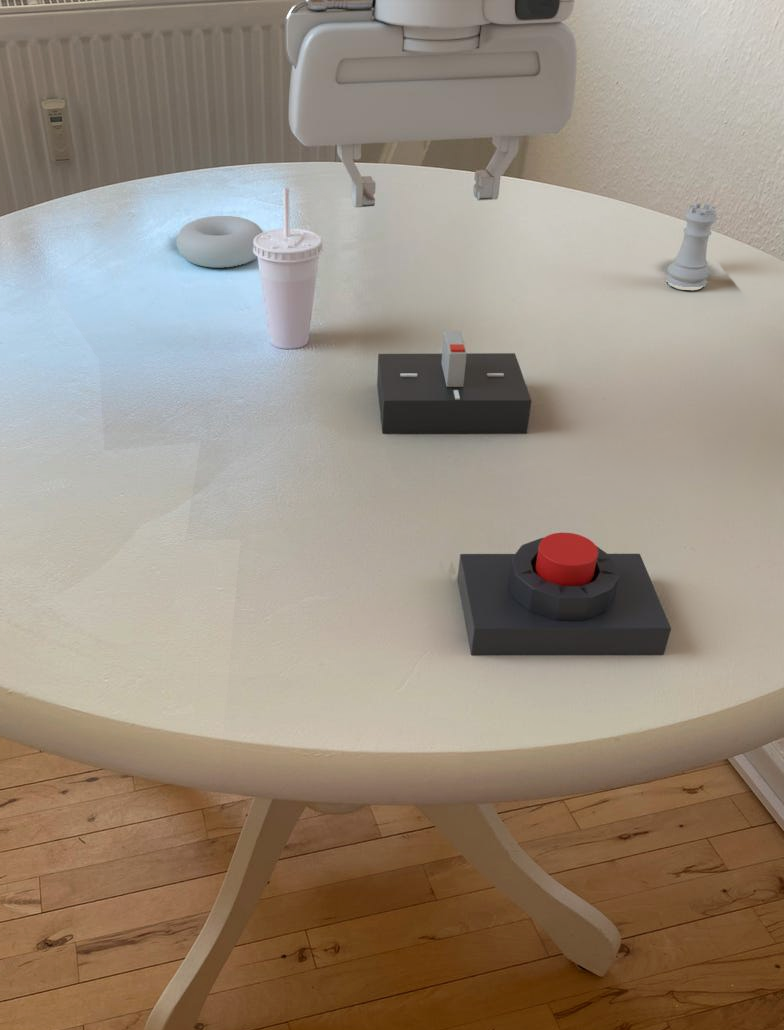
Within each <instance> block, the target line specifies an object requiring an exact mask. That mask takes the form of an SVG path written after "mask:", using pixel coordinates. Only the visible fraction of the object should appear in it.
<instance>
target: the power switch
mask: <svg viewBox="0 0 784 1030" xmlns="http://www.w3.org/2000/svg"><path fill="white" fill-rule="evenodd" d="M543 538H544V537H541V538H538V539H535V540H532V541H529V542H526V543H524V544H522V545H521V546H519V548H518V550H517V551H516V552H515V553H460V554H459V559H458V570H457V580H456V581H457V586H458V593H459V596H460V602H461V607H462V614H463V618H464V619H463V620H464V624H465V630H466V636H467V640H468V644H469V645H468V646H469V651H470V655H471V656H664V655H665V653H666V649H667V646H668V642H669V638H670V634H671V631H672V627H671V625H670V622H669V620H668V617H667V615H666V613H665V610H664V608H663V605H662V603H661V601H660V599H659V595H658V594H657V592H656V589H655V586H654V584H653V582H652V579H651V577H650V574H649V572H648V569H647V568H646V565H645V562H644V561H643V560H644V559H643V558H642V556H641V553H607V552H605V551H604V550H603V549H602V548H600V547H599V546H597V545H596V547H597V549H598V557H597V561H596V566H595V571H594V576H593V578H592V580H591V581H590V582H589V583H588V584H585V585H583V586H560V585H557V584H554V583H551V582H548V581H545V580H543V579H542V578H541V577H540V576H538V574H537V572H536V561H537V555H538V549H539V544H540V542H541V540H542V539H543Z"/></svg>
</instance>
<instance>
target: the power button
mask: <svg viewBox="0 0 784 1030" xmlns="http://www.w3.org/2000/svg"><path fill="white" fill-rule="evenodd" d="M542 538H543V537H542ZM596 546H597V545H596V544H595V542H593V541H592V540H590V539H589V538H588V537H586V536H583V535H581V534H577V533H573V532H554V533H551V534H548V535H546V536H545V537H544V538H543V539H542V540H541V542H540V544H539V549H538V555H537V561H536V572H537V574H538V576H540V577H541V578H542V579H543V580H545V581H548V582H551V583H554V584H557V585H560V586H583V585H585V584H588V583H589V582H590V581H591V580H592V578H593V576H594V571H595V566H596V561H597V557H598V549H597V547H598V546H597V547H596Z"/></svg>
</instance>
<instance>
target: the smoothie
mask: <svg viewBox="0 0 784 1030" xmlns="http://www.w3.org/2000/svg"><path fill="white" fill-rule="evenodd" d="M282 206H283V209H282V210H283V228H282V227H281V228H274V229H269V230H266V231H263V233H260V234H259V235H257V236H256V237H255V238H254V240H253V245H254V248H253V252H254V254H255V255H256V256H257V258H256V259H257V264H258V271H259V276H260V284H261V291H262V297H263V303H264V304H263V305H264V311H265V316H266V322H267V329H268V336H269V340H270V341H269V342H270V344H271V345H272V346H273V347H275V348H279V349H284V350H292V349H294V350H295V349H299V348H300V349H301V348H303V347H305V346H307V344H308V343H309V341H310V340H309V339H310V331H311V323H312V315H313V307H314V299H315V291H316V281H317V274H318V268H319V258H320V255H322V253H323V252H324V247H323V238H322V236H321V235H319V234H318V233H316V232H314V231H311V230H309V229H303V228H292V227H291V222H290V221H291V217H290V216H291V215H290V214H291V213H290V210H291V209H290V187H289V186H283V187H282Z"/></svg>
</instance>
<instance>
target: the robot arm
mask: <svg viewBox="0 0 784 1030" xmlns="http://www.w3.org/2000/svg"><path fill="white" fill-rule="evenodd" d="M304 7H306V10H300V9H302V8H304ZM574 7H575V0H298V1H297V2H296V3H294V5H292V6H291V8H290V9H289V10H288V12H287V14H286V17H285V21H284V27H283V28H284V51H285V55H286V58H287V60H288V62H289V63H290V64H291V72H290V83H289V91H288V93H289V94H288V124H289V125H288V126H289V128H290V131H291V132H292V134H293V135H294V136H295V138H296V139H297V140H298V141H299V142H300V143H301V144H302V145H303V146H304V147H325V146H326V147H327V146H336V149H337V150H336V151H337V152H336V153H337V155H338V157H339V159H340V161H341V163H342V164H343V166H344V168H345V170H346V172H347V174H348V176H349V177H350V179H351V192H350V193H351V194H350V196H351V204H352V205H353V208H367V207H369V208H370V207H375V204H376V198H375V196H374V195H375V194H376V182H375V180H373V177H372V176H370V175H366V176H365V175H363V176H362V175H361V172H360V171H359V169H358V167H357V165H356V163H355V162H354V161H357V160H361V158H362V145H363V144H364V145H365V144H383V143H401V142H403V143H405V142H406V143H407V142H422V141H443V140H444V141H445V140H446V141H447V140H464V139H465V140H466V139H485V138H492V140H491V143H492V145H493V146H494V147H495V148H497V149H496V150H495V152H494V153H493V156H492V157H491V159H490V160H489V162H488V164H487V166H486V168H485V169H477V170H474V181H475V184H474V185H473V196H474V198H475V199H476V200H477V201H478V202H479V201H494V200H495V201H496V200H498V198H499V195H500V187H501V177H503V176H504V174H505V173H506V171H507V170H508V168H509V167H510V165H511V163H512V162H513V161H514V159H515V158H516V156H517V154H518V153H519V149H520V139H521V137H524V136H525V137H526V136H544V135H545V136H546V135H557V134H559V133H561V132H562V131H563V129H564V128H565V127H566V126H567V124H568V123H569V122H570V120H571V118H572V116H573V110H574V103H575V94H576V83H577V43H576V39H575V36H574V33H573V31H572V30H571V28H570V27H569V26H568V25H567V24H565V23H564V21H567V20H568V19H569V18H570V17H571V16H572V13H573V11H574Z"/></svg>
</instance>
